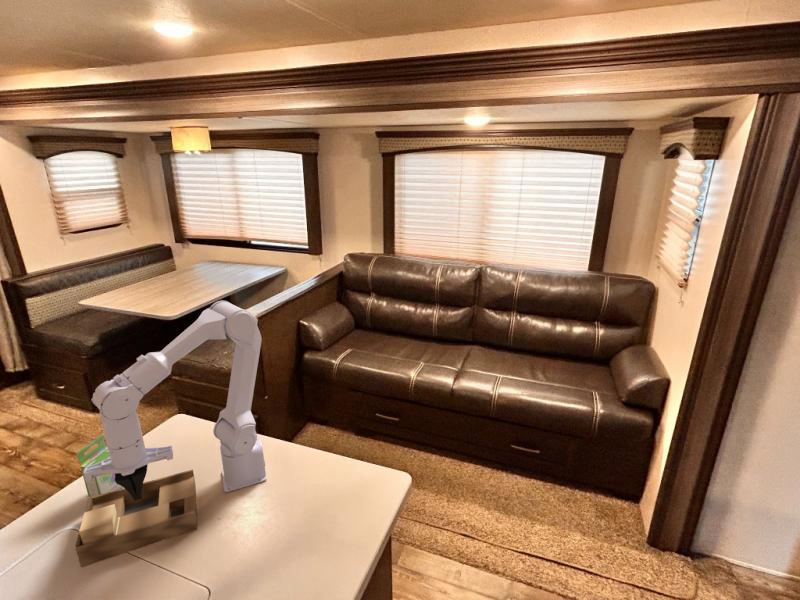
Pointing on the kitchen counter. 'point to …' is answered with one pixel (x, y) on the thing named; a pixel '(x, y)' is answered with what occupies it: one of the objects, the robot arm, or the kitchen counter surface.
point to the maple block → (99, 524)
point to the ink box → (95, 456)
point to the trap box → (144, 516)
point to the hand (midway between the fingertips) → (138, 496)
